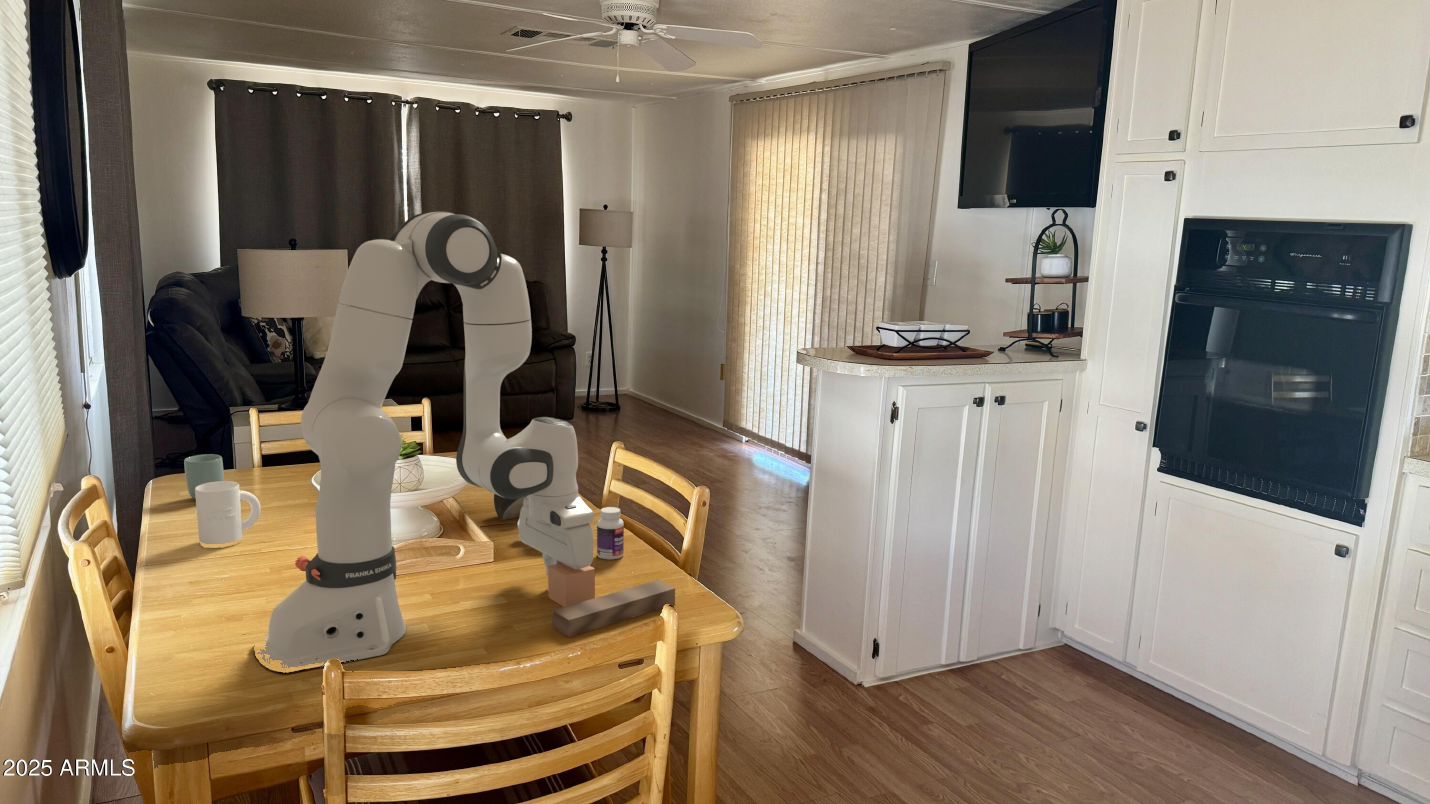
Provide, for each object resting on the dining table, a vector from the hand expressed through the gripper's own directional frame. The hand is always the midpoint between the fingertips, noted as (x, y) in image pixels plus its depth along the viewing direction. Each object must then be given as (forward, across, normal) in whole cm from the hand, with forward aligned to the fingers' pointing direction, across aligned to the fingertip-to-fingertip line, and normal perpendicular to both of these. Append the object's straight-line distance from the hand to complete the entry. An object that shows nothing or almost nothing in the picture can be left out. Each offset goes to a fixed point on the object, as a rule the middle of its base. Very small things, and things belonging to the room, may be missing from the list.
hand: (554, 577), depth 171 cm
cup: (+2, -98, -35) cm, 105 cm away
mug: (+2, -64, -38) cm, 74 cm away
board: (+2, +17, +2) cm, 17 cm away
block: (+2, +6, 0) cm, 6 cm away
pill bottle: (+2, -8, +18) cm, 20 cm away
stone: (+2, -42, +15) cm, 45 cm away
